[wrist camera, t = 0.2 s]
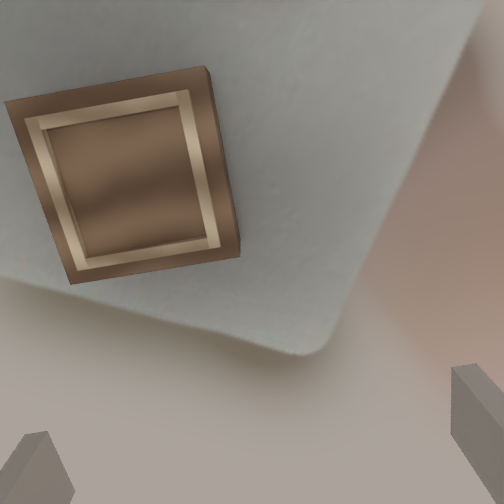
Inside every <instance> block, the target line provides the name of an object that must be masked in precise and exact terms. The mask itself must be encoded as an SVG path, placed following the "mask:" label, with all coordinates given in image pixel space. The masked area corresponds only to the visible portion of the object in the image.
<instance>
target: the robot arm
mask: <svg viewBox="0 0 504 504" xmlns="http://www.w3.org/2000/svg"><path fill="white" fill-rule="evenodd" d="M451 374H452V375H451V435H452V436H453V438H454V440H455V441H456V443H457V444H458V446H459V447H460V449H461V450H462V452H463V453H464V455H465V456H466V458H467V459H468V461H469V463H470V464H471V466H472V467H473V468H474V470H475V472H476V473H477V475H478V476H479V478H480V479H481V481H482V482H483V484H484V485H485V487H486V488H487V490H488V491H489V493H490V494H491V496H492V498H493V499H494V500H495V502H496V504H504V393H503V391H502V390H501V389H500V388H499V387H498V386H497V385H496V384H495V383H494V382H493V381H492V380H491V379H490V378H489V377H488V376H487V374H486V373H485V372H484V371H483V370H482V369H481V368H480V367H479V366H478V365H477V364H476V363H475V364H468V365H462V366H456V367H452V373H451ZM74 493H75V490H74V487H73V485H72V483H71V481H70V479H69V477H68V474H67V472H66V470H65V468H64V466H63V464H62V462H61V460H60V457H59V455H58V453H57V451H56V448H55V446H54V444H53V442H52V440H51V438H50V435H49V434H48V432H47V431H44V432H38V433H32V434H26V435H24V436H23V438H22V439H21V441H20V442H19V444H18V445H17V447H16V449H15V450H14V451H13V453H12V454H11V456H10V457H9V459H8V460H7V462H6V463H5V465H4V466H3V467H2V469H1V470H0V504H70V502H71V500H72V497H73V495H74Z"/></svg>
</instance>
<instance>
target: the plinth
mask: <svg viewBox="0 0 504 504" xmlns="http://www.w3.org/2000/svg"><path fill="white" fill-rule="evenodd" d="M4 103H5V106H6V108H7V111H8V114H9V117H10V119H11V122H12V125H13V128H14V130H15V133H16V136H17V139H18V141H19V144H20V147H21V150H22V153H23V155H24V158H25V161H26V164H27V166H28V169H29V172H30V175H31V177H32V180H33V183H34V186H35V188H36V191H37V194H38V197H39V199H40V202H41V205H42V208H43V211H44V213H45V216H46V219H47V222H48V224H49V227H50V230H51V233H52V235H53V238H54V241H55V244H56V246H57V249H58V252H59V255H60V257H61V260H62V263H63V266H64V269H65V271H66V274H67V277H68V280H69V282H70V285H72V284H78V283H85V282H91V281H97V280H103V279H109V278H115V277H121V276H127V275H133V274H139V273H145V272H151V271H157V270H163V269H169V268H175V267H182V266H188V265H194V264H200V263H206V262H212V261H218V260H224V259H230V258H236V257H240V235H239V230H238V224H237V219H236V213H235V208H234V203H233V197H232V192H231V186H230V181H229V176H228V170H227V165H226V160H225V154H224V149H223V143H222V138H221V133H220V127H219V122H218V116H217V111H216V106H215V100H214V95H213V89H212V84H211V79H210V73H209V71H208V70H207V69H206V67H205V66H200V67H194V68H189V69H183V70H178V71H172V72H167V73H161V74H156V75H150V76H145V77H139V78H134V79H128V80H123V81H117V82H112V83H106V84H100V85H95V86H89V87H84V88H78V89H73V90H67V91H62V92H56V93H51V94H45V95H40V96H34V97H29V98H23V99H18V100H12V101H7V102H4Z"/></svg>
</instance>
